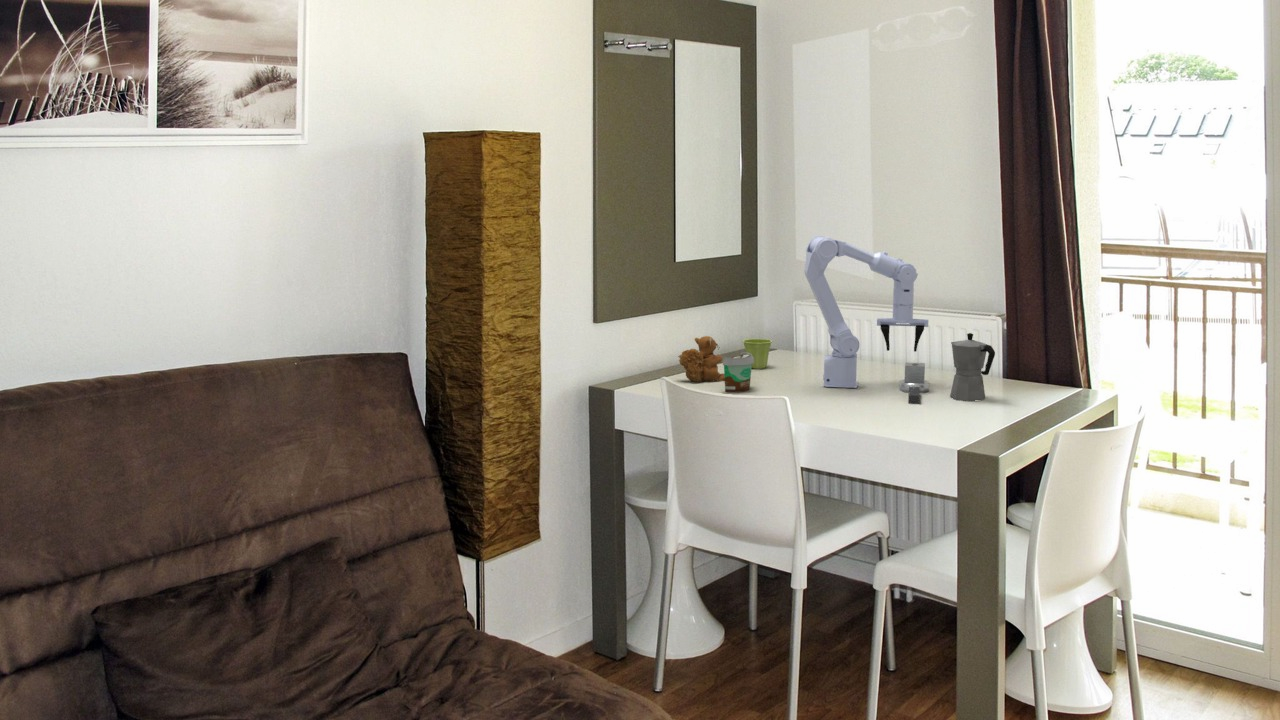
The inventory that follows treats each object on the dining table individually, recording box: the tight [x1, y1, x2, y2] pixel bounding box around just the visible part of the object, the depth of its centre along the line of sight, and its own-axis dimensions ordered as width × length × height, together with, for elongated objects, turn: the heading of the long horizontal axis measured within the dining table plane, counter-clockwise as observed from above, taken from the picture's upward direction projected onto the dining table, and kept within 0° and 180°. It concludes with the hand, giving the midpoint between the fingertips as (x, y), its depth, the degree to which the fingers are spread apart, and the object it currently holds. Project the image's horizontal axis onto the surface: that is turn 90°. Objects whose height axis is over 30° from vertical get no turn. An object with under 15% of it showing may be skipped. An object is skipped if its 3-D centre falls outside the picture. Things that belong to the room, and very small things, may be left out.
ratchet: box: [899, 378, 930, 405], centre depth 301 cm, size 8×22×5 cm, turn 166°
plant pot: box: [742, 338, 773, 370], centre depth 346 cm, size 9×9×9 cm
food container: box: [722, 351, 754, 393], centre depth 310 cm, size 12×6×10 cm, turn 148°
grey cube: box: [904, 362, 926, 384], centre depth 307 cm, size 5×5×5 cm
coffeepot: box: [949, 332, 996, 402], centre depth 294 cm, size 15×9×18 cm, turn 29°
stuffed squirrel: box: [677, 335, 725, 384], centre depth 325 cm, size 10×14×13 cm
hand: (901, 350), depth 316 cm, fingers open, 7 cm apart
